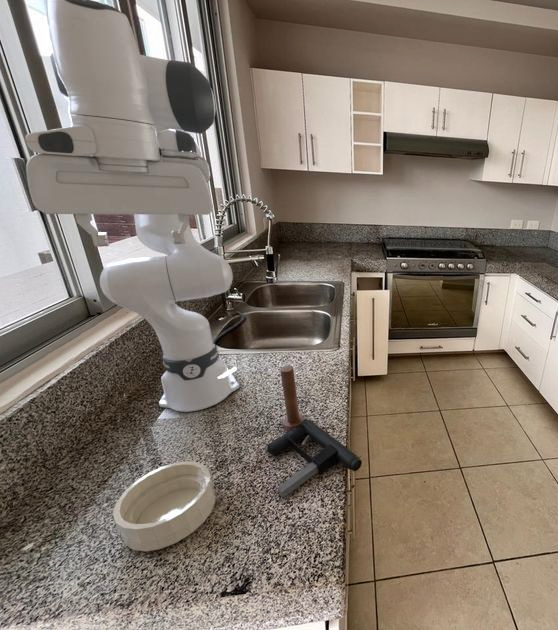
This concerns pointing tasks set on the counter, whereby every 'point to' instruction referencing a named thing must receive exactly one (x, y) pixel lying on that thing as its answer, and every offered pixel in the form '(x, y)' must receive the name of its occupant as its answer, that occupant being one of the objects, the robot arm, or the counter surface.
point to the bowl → (165, 506)
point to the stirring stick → (290, 399)
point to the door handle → (318, 462)
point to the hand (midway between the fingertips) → (143, 244)
